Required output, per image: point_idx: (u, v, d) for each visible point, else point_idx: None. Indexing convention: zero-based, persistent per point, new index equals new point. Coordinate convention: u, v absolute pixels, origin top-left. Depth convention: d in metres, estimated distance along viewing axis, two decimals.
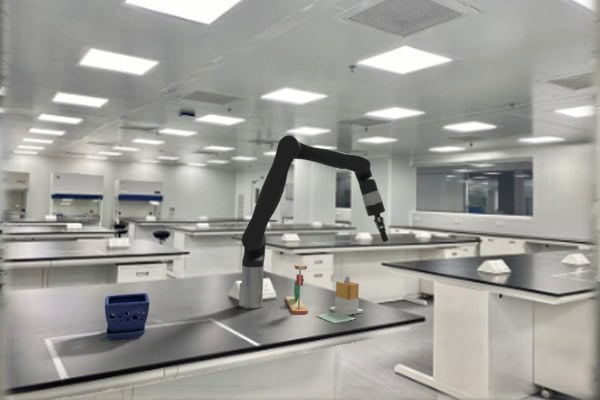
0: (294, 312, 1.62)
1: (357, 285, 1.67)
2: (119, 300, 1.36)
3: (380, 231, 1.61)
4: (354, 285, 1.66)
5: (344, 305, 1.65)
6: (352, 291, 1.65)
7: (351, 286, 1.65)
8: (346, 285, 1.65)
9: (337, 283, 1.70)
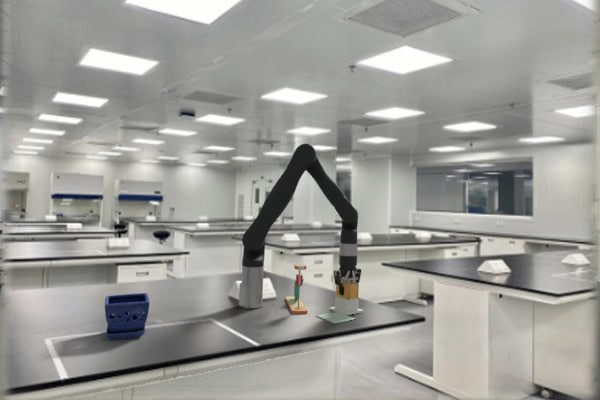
0: (293, 312, 1.62)
1: (357, 285, 1.67)
2: (119, 300, 1.36)
3: (335, 283, 1.66)
4: (354, 285, 1.66)
5: (344, 305, 1.65)
6: (352, 291, 1.65)
7: (351, 286, 1.65)
8: (346, 285, 1.65)
9: None
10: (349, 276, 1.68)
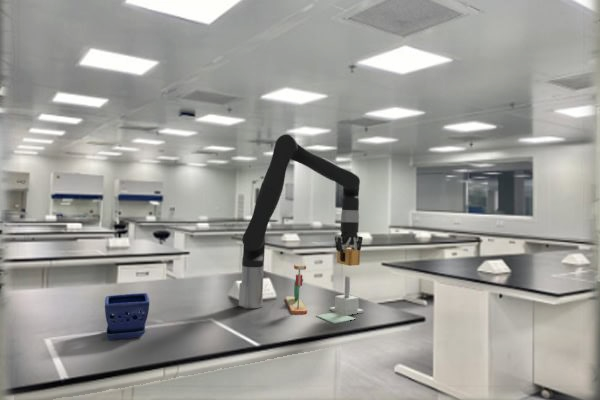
0: (293, 312, 1.62)
1: (358, 252, 1.67)
2: (119, 300, 1.36)
3: None
4: (355, 251, 1.66)
5: (344, 305, 1.65)
6: (353, 257, 1.65)
7: (352, 252, 1.65)
8: (347, 251, 1.65)
9: None
10: (350, 243, 1.68)
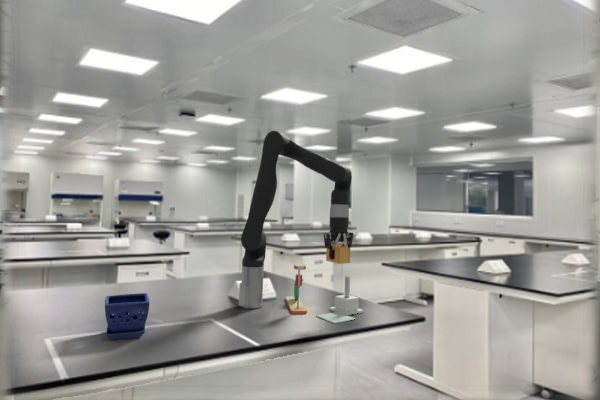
0: (293, 312, 1.62)
1: (349, 249, 1.56)
2: (119, 300, 1.36)
3: (325, 247, 1.56)
4: (345, 248, 1.55)
5: (344, 305, 1.65)
6: (343, 255, 1.54)
7: (342, 249, 1.54)
8: (336, 248, 1.55)
9: None
10: (340, 239, 1.57)
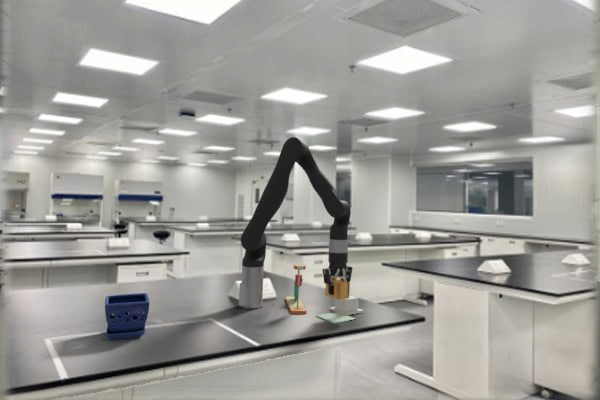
0: (293, 312, 1.62)
1: (348, 284, 1.56)
2: (119, 300, 1.36)
3: (324, 282, 1.55)
4: (344, 284, 1.55)
5: (344, 305, 1.65)
6: (342, 290, 1.54)
7: (341, 285, 1.54)
8: (336, 284, 1.55)
9: None
10: (339, 274, 1.57)
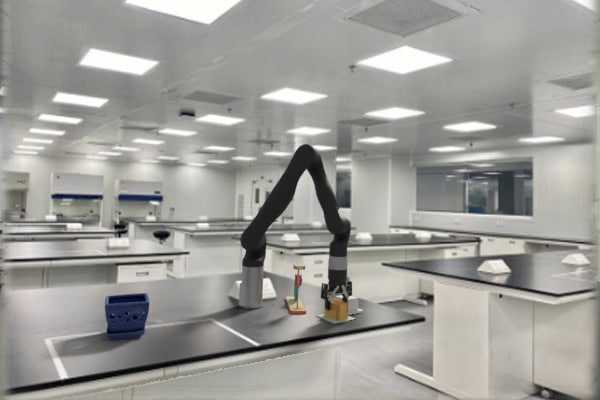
0: (292, 312, 1.62)
1: (347, 305, 1.56)
2: (119, 300, 1.36)
3: (321, 298, 1.55)
4: (343, 305, 1.55)
5: None
6: (341, 311, 1.54)
7: (340, 306, 1.54)
8: (334, 305, 1.55)
9: None
10: (338, 291, 1.57)
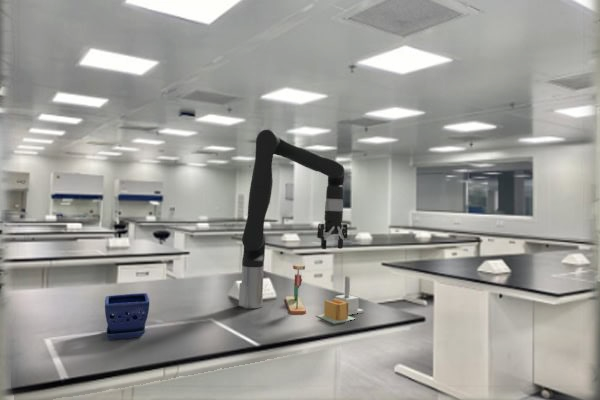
0: (292, 312, 1.62)
1: (347, 305, 1.56)
2: (119, 300, 1.36)
3: (317, 237, 1.64)
4: (343, 305, 1.55)
5: None
6: (341, 311, 1.54)
7: (340, 306, 1.54)
8: (334, 305, 1.55)
9: (325, 302, 1.59)
10: (334, 232, 1.67)
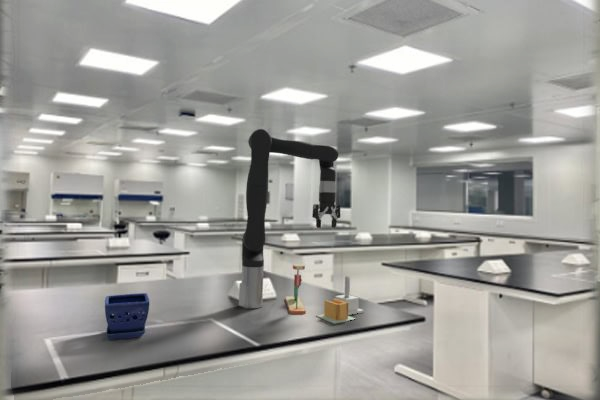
0: (291, 312, 1.62)
1: (347, 305, 1.56)
2: (119, 300, 1.36)
3: None
4: (343, 305, 1.55)
5: None
6: (341, 311, 1.54)
7: (340, 306, 1.54)
8: (334, 305, 1.55)
9: (325, 302, 1.59)
10: (328, 212, 1.79)
